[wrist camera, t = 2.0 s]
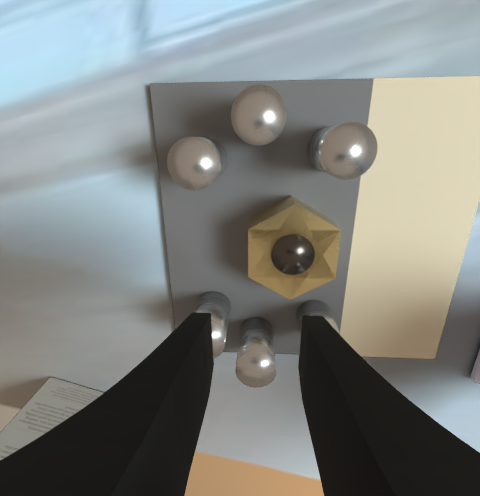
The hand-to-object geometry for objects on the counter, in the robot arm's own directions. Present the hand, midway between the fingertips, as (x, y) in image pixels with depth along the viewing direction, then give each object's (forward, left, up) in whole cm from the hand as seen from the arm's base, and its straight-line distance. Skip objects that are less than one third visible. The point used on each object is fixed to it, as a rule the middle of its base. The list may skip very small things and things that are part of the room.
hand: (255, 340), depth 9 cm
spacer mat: (-4, 0, -10) cm, 11 cm away
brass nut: (-2, 0, -10) cm, 10 cm away
